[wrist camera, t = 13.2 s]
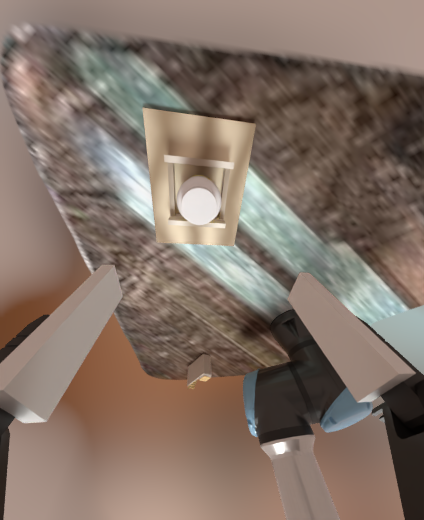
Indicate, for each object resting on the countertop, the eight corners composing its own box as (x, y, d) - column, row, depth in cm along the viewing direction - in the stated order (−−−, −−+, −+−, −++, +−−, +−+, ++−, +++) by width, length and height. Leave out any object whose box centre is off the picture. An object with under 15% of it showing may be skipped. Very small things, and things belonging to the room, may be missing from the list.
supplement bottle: (215, 210, 28) (223, 232, 19) (184, 210, 28) (175, 233, 18) (216, 174, 25) (226, 178, 16) (181, 173, 25) (169, 177, 15)
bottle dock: (253, 125, 23) (266, 116, 19) (232, 243, 34) (237, 255, 29) (144, 109, 22) (131, 96, 17) (157, 240, 32) (151, 251, 28)
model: (210, 354, 58) (211, 378, 52) (195, 366, 62) (194, 390, 56) (203, 352, 57) (203, 376, 50) (188, 365, 61) (187, 389, 54)
